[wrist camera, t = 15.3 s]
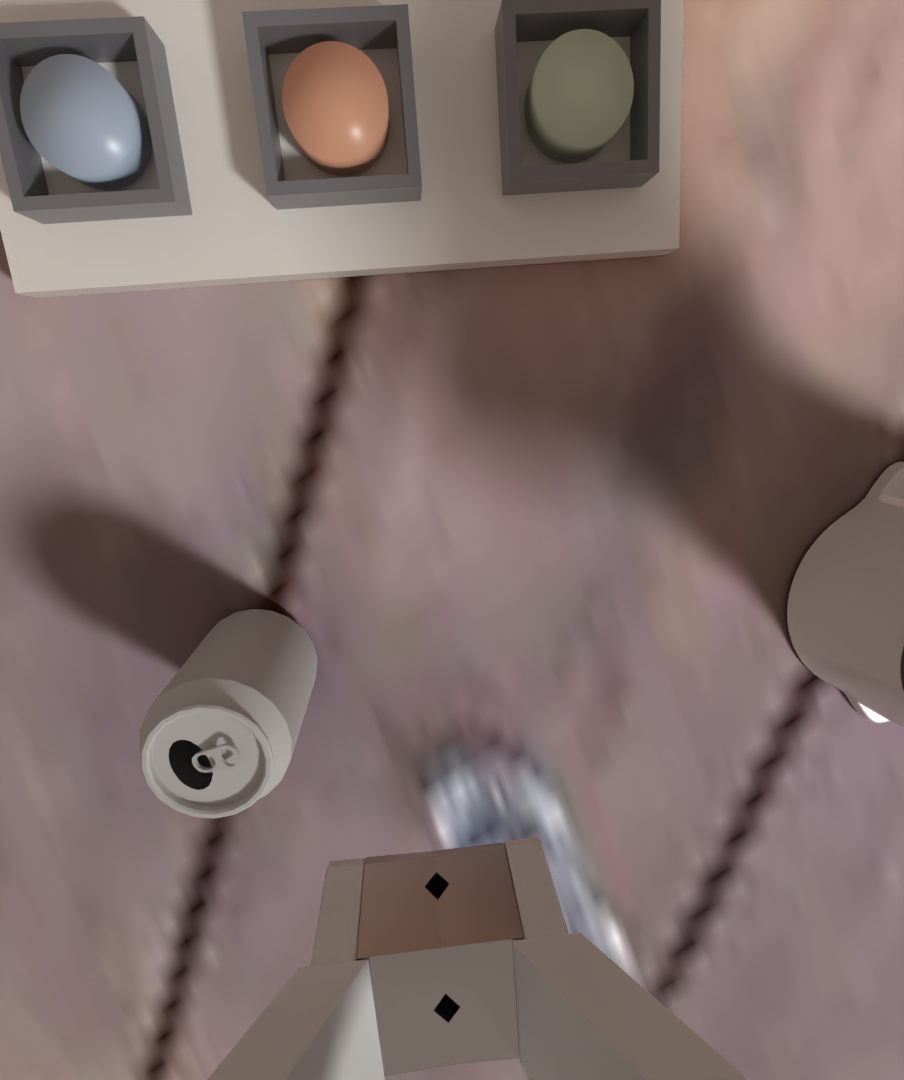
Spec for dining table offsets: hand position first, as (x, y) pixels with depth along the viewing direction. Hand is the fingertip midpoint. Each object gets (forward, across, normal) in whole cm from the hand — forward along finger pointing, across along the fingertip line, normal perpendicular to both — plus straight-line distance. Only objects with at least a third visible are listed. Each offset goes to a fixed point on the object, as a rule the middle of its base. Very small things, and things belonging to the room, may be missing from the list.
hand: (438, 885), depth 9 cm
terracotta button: (+29, +2, -20) cm, 35 cm away
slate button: (+29, +14, -20) cm, 38 cm away
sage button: (+29, -10, -20) cm, 36 cm away
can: (+31, +11, +10) cm, 35 cm away
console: (+31, +2, -20) cm, 37 cm away
